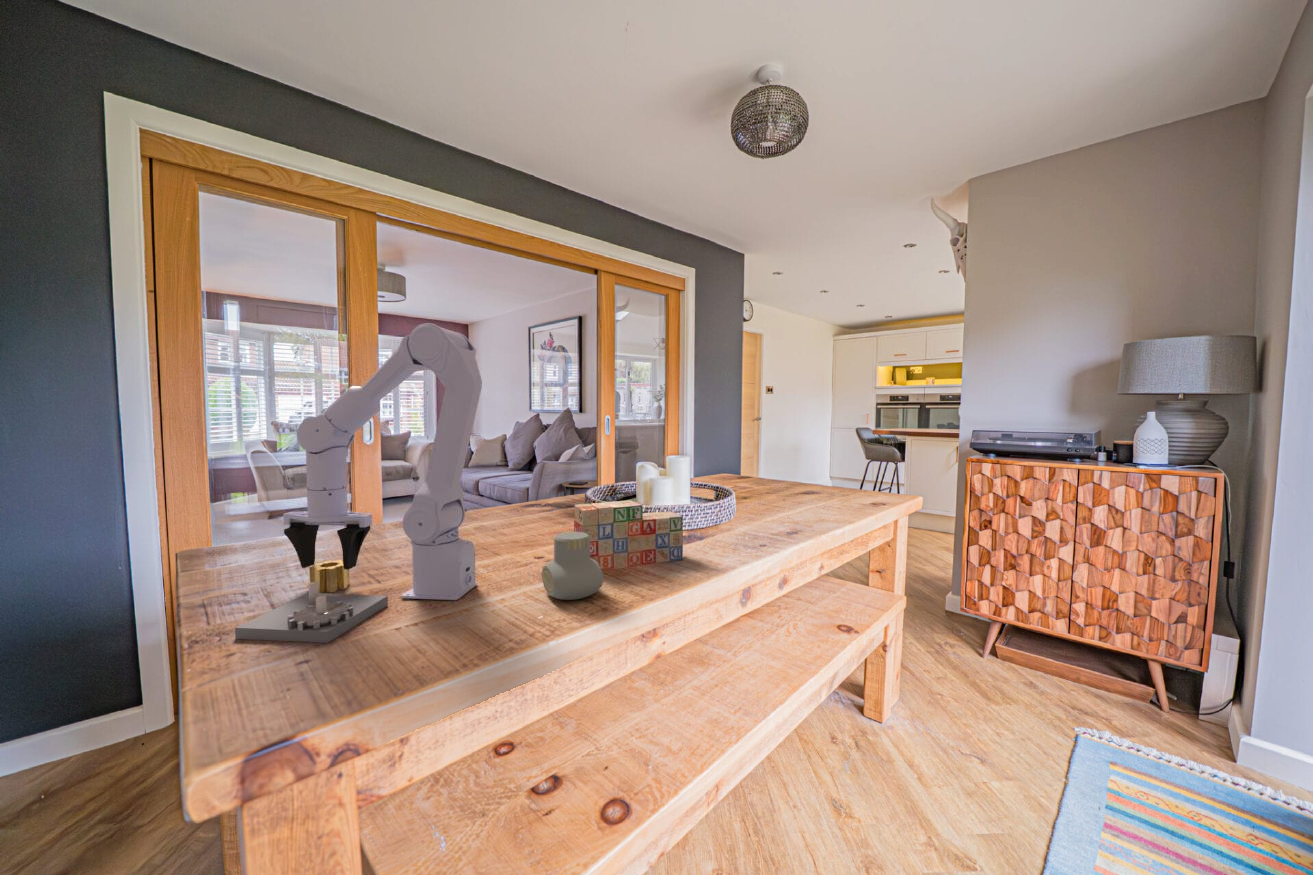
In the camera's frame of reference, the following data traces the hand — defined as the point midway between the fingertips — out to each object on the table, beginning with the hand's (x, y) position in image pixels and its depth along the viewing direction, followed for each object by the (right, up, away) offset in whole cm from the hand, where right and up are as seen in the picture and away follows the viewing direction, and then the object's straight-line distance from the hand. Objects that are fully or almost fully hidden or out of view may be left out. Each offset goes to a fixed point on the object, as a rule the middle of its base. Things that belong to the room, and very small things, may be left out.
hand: (328, 566), depth 87 cm
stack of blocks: (+51, -4, +16) cm, 53 cm away
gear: (+10, -3, -16) cm, 19 cm away
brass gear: (0, -4, 0) cm, 4 cm away
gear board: (+7, -4, -13) cm, 16 cm away
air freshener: (+42, -4, -2) cm, 42 cm away
